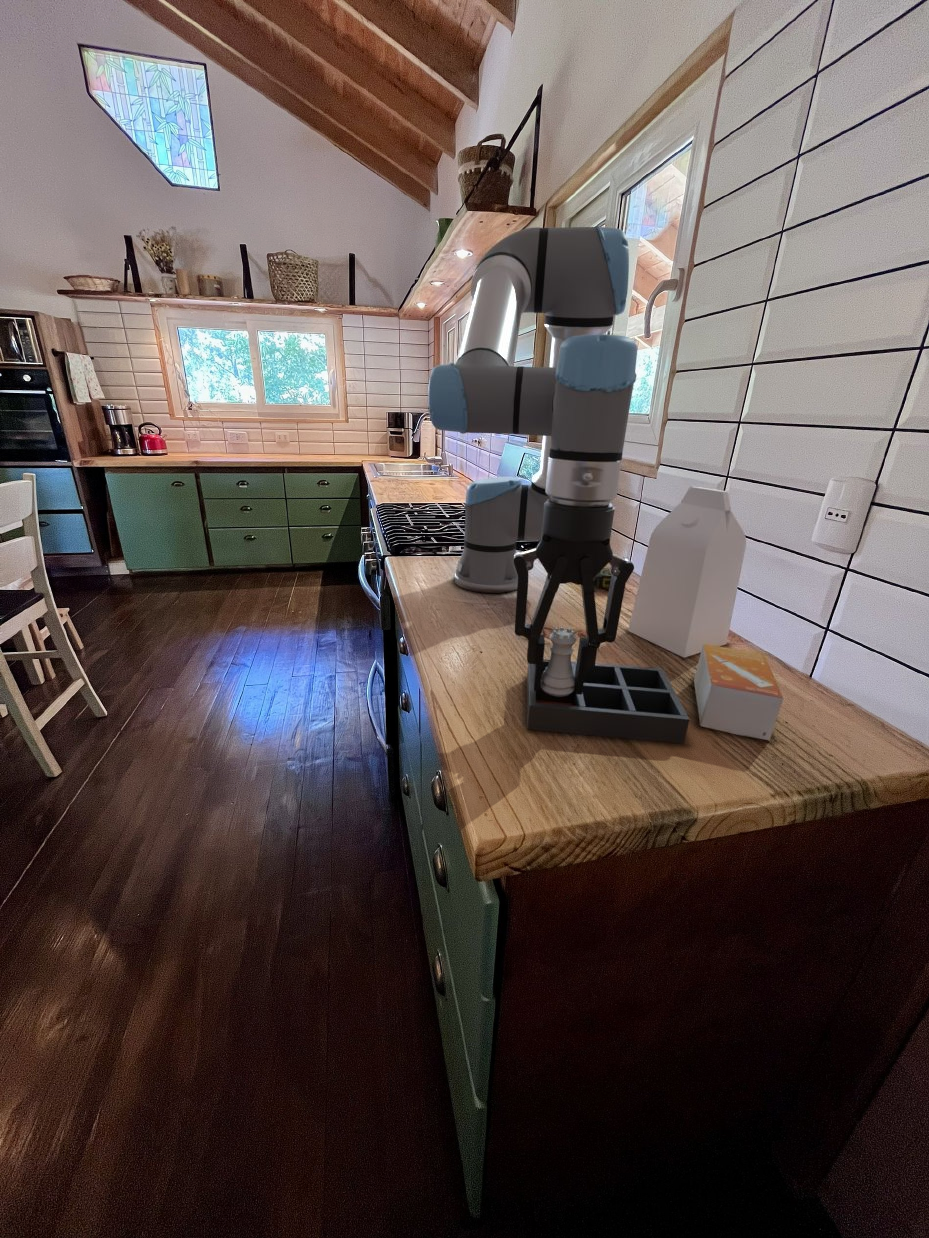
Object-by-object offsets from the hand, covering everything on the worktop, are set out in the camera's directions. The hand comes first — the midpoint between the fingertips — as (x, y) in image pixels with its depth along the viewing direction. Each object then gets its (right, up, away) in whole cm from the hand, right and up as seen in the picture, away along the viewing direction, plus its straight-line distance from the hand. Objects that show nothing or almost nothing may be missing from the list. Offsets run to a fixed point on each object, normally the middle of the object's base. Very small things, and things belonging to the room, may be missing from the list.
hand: (557, 686), depth 63 cm
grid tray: (+6, -3, +4) cm, 8 cm away
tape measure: (+20, +16, +51) cm, 57 cm away
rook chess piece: (0, 0, 0) cm, 0 cm away
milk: (+26, +5, +26) cm, 37 cm away
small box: (+27, +2, +10) cm, 28 cm away
